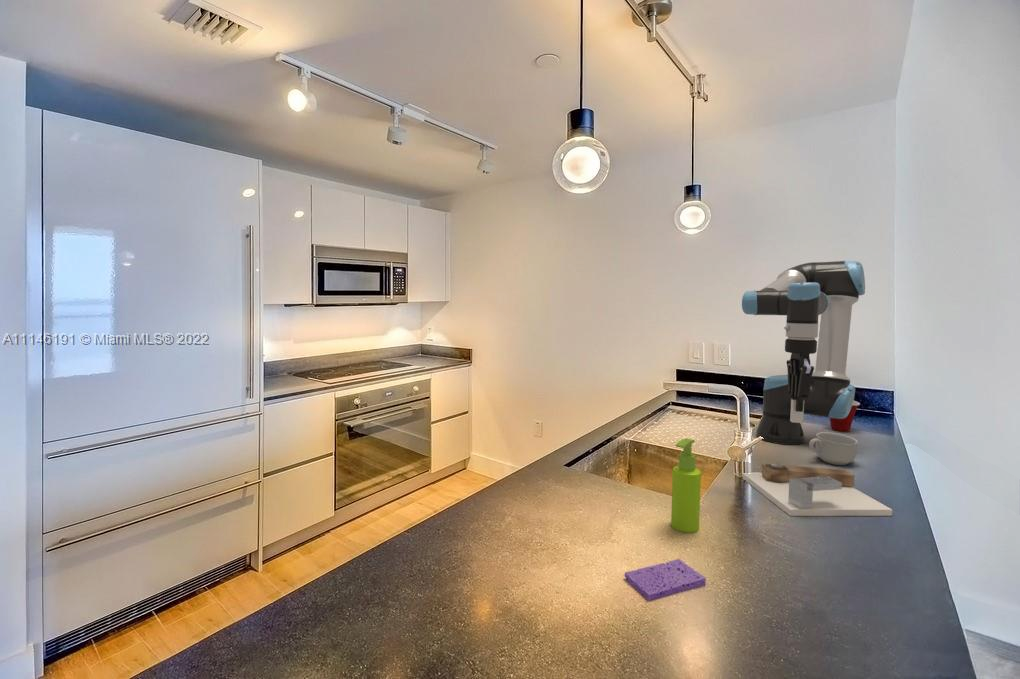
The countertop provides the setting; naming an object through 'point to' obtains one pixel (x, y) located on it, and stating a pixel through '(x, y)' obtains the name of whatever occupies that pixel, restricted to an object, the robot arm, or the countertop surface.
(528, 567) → the countertop surface
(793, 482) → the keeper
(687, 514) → the soap dispenser
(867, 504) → the base board
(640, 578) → the sponges
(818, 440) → the teacup
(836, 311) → the robot arm
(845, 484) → the latch
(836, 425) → the plastic cup
